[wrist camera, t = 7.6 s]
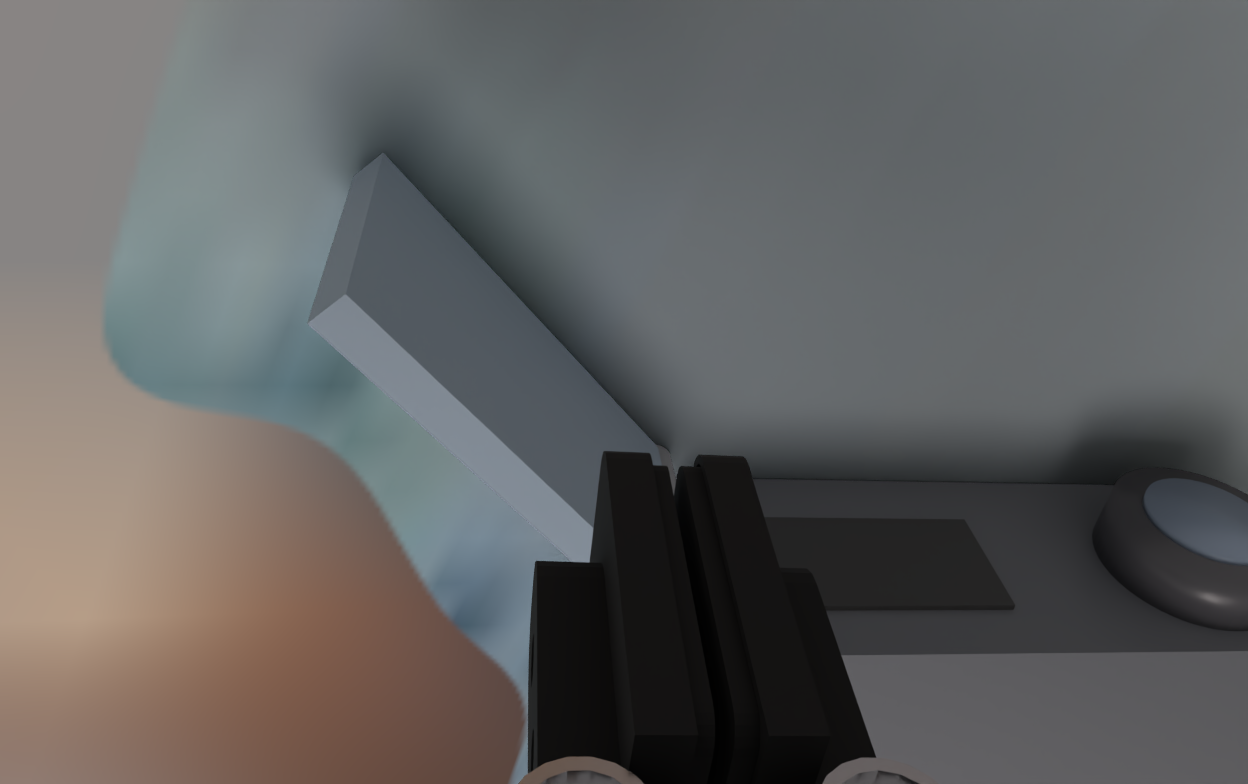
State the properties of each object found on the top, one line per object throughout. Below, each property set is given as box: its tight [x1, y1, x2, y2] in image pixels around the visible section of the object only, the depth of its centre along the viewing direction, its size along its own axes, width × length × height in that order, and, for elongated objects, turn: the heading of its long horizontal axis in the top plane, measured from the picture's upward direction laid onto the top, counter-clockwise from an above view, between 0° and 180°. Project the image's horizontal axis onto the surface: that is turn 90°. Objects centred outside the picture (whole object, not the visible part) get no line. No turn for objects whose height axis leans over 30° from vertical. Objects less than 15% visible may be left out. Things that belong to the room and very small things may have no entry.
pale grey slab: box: [307, 153, 676, 562], centre depth 20 cm, size 10×2×6 cm, turn 36°
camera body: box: [753, 468, 1248, 784], centre depth 26 cm, size 16×11×7 cm, turn 84°
